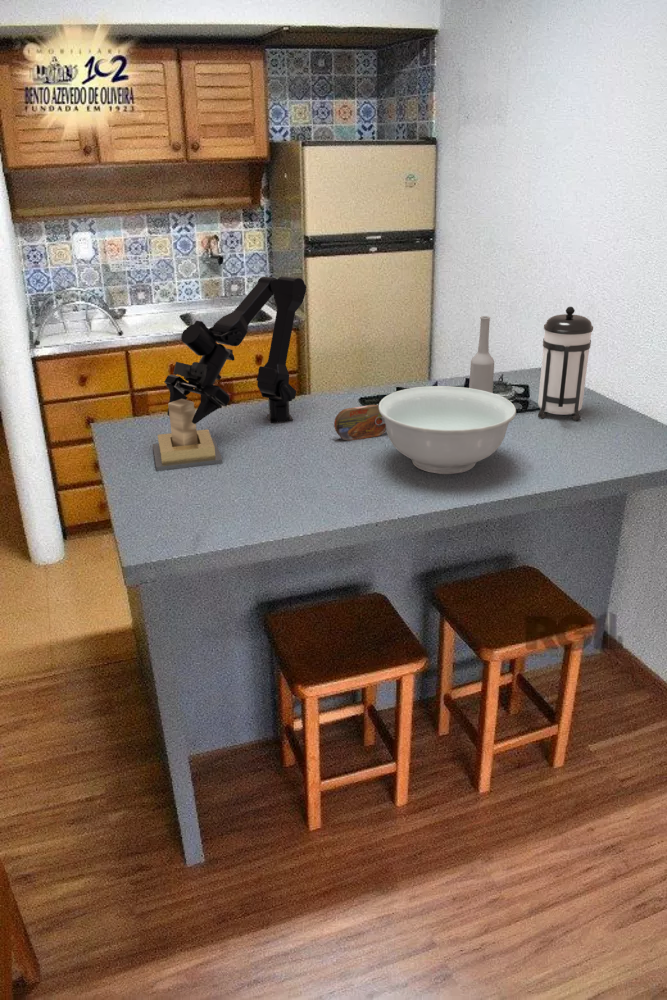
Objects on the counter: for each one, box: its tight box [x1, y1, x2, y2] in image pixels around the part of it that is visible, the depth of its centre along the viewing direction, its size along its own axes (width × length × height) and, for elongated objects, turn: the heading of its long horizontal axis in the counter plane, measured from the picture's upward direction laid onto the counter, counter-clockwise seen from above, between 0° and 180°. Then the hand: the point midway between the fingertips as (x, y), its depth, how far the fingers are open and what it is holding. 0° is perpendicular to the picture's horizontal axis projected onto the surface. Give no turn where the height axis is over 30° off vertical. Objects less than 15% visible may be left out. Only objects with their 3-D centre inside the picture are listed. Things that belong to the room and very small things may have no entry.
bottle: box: [468, 315, 495, 394], centre depth 213 cm, size 7×7×28 cm
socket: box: [152, 429, 223, 471], centre depth 196 cm, size 16×16×4 cm
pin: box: [167, 399, 198, 447], centre depth 194 cm, size 4×4×13 cm
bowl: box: [378, 385, 517, 475], centre depth 186 cm, size 32×32×15 cm
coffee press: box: [537, 306, 594, 422], centre depth 212 cm, size 17×16×30 cm
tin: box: [333, 404, 387, 442], centre depth 205 cm, size 15×3×8 cm, turn 109°
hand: (180, 419), depth 192 cm, fingers open, 9 cm apart
